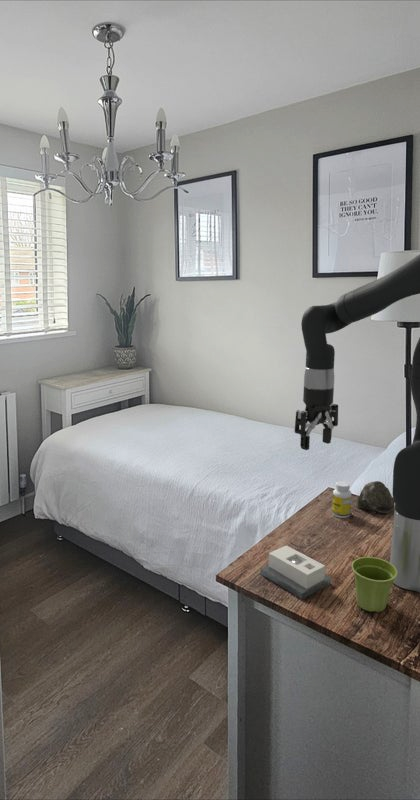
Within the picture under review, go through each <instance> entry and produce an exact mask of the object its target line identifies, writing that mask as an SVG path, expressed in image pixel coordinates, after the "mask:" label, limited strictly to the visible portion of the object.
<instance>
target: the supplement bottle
mask: <svg viewBox="0 0 420 800" xmlns="http://www.w3.org/2000/svg"><path fill="white" fill-rule="evenodd" d="M352 496H353V495H352V491H351V490H350V483H349V482H347V481H343V480H342V481H336V483H335V488H334V490H333V491H332V502H331V505H332V506H331V513H332V515H333V516H334V517H335V518H340V519H345V518H349V517H350V516H351V510H352Z"/></svg>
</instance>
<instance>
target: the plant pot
mask: <svg viewBox="0 0 420 800" xmlns="http://www.w3.org/2000/svg"><path fill="white" fill-rule="evenodd" d="M351 570H352V572H353V576H354V580H355V581H354V583H355V598H356V599H355V600H356V603H357V605H358V607H360V608H361V609H363V610H364V611H367V612H377V613H381V612H383V611H384V610H385V609H386V607H387V605H388V599H389V598H390V597H389V596H390V593H391V588H392V586H393V584H394V583H393V581H394V579H395V578H396V577H397V573H398V572H397V569H396V568H395V566H394V565H392V564H391V563H390V561H387V560H385V559H383V558H379V557H375V556H374V557H373V556H362V557H358V558H356V559H354V560H353V561H352V563H351Z"/></svg>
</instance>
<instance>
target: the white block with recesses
mask: <svg viewBox="0 0 420 800" xmlns="http://www.w3.org/2000/svg"><path fill="white" fill-rule="evenodd" d="M292 559H299V560H301V563H300V564H298V565H296V564H294V563H292V562H291V560H292ZM268 565H269V567H270V568H272V569H274V570H276V571H277V572H279V573H281V574H282V575H284V576H286V577H287V578H289V579H291V580H292V581H294V582H296V583H298V584H299V585H301V586H303V587H304V588H306V589H308V588H310V587H312V586H313V585H315V584H317V583H319V582H321V581H323V580H324V578H325V574H326V573H325V572H326V565H325V564H322V563H321V562H319V561H317V560H315V559H313V558H311V557H310V556H307V555H305V554H304V553H302V552H300V551H298V550H297V549H294V548H293V547H291V546H288V545H284V546H281V547H280V548H277V549H275V550H273V551H270V552H269V553H268Z"/></svg>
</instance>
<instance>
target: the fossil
mask: <svg viewBox="0 0 420 800" xmlns="http://www.w3.org/2000/svg"><path fill="white" fill-rule="evenodd" d="M356 507H357V508H358V509H360V508H361V509H365V510H367V509H368V510H371V511H372V512H374V513H375V514H379V515H387V514H389V513H390V512H392V511H393V509H395V501H394V499H393V495H392V494H391V492H390V489H389V488H388V487H387V486H386V485H385V484H384V483H383V481H379V480H375V481H370V482H368V483H366V484H364V486H363V488H362V489H361V491H360V493H359V496H358V499H357V503H356Z"/></svg>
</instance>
